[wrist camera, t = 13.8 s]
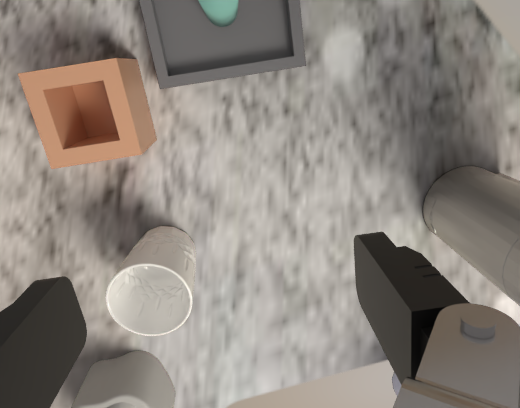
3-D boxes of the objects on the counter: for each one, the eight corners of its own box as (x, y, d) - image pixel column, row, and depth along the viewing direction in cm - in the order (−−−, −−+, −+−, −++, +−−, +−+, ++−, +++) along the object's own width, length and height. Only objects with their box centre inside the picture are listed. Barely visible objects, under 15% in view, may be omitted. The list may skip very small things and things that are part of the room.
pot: (137, 59, 37) (116, 57, 31) (156, 139, 40) (141, 154, 33) (56, 72, 37) (17, 73, 30) (81, 151, 40) (51, 169, 33)
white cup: (125, 225, 43) (94, 270, 34) (194, 215, 43) (183, 257, 34) (141, 285, 46) (117, 341, 36) (206, 275, 46) (199, 329, 37)
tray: (287, -75, 34) (290, -86, 32) (301, 65, 38) (306, 65, 36) (133, -51, 34) (125, -60, 32) (164, 87, 38) (159, 89, 36)
